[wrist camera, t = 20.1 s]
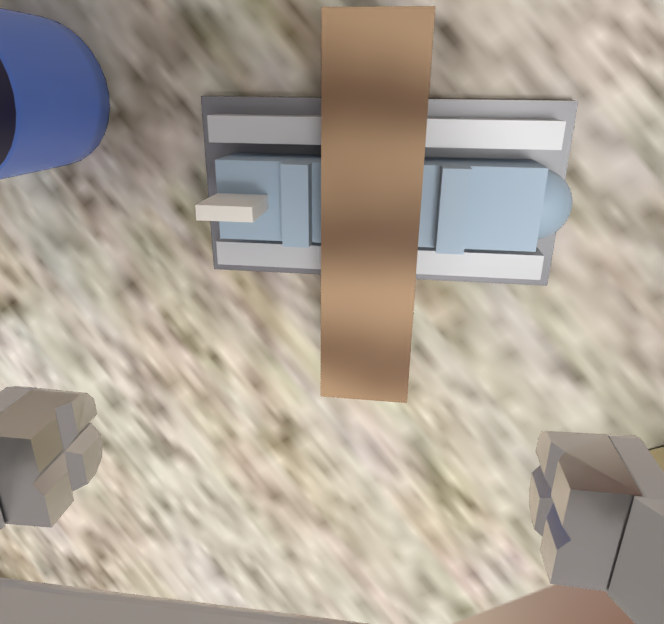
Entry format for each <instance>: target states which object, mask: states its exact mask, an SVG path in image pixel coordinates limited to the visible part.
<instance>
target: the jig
mask: <svg viewBox="0 0 664 624" xmlns="http://www.w3.org/2000/svg"><path fill="white" fill-rule="evenodd" d="M201 102H202V115H203V128H204V141H205V155H206V168H207V181H208V194H209V197H211V196H213V195H215V194H217V184H216V169H215V160H216V159H219V158H221V157H224V156H227V155H230V154H233V153H236V152H237V153H280V154H321V98H317V97H233V96H201ZM577 106H578V101H570V100H485V99H429V101H428V115H427V129H426V143H425V156H424V157H449V158H492V159H533V160H534V161H536V162H538V163H540V164H542V165H544V166H545V167H547V168H549V169H548V170H551V171H553V172H555V173H557V174H558V175H560V176H561V177H562V178H563V179H564V180H565V177H566V171H567V165H568V159H569V153H570V147H571V141H572V135H573V129H574V124H575V118H576V112H577ZM211 234H212V247H213V260H214V269H225V270H245V271H265V272H285V273H305V274H321V243H316V242H312V244H311V245H310V247H309V248H301V247H282V241H269V240H246V239H222V238H220V226H219V221H211ZM555 236H556V232H555V233H553V234H552V235H550V236H547V237H545V238H541V239H538V240H537V247H536V252H527V251H503V250H480V249H464V255H461V254H438V253H436V252H435V248H433V247H418V254H417V268H416V279H424V280H444V281H464V282H484V283H504V284H524V285H544V286H547V284H548V278H549V272H550V266H551V260H552V254H553V248H554V242H555Z"/></svg>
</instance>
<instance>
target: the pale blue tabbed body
mask: <svg viewBox="0 0 664 624" xmlns="http://www.w3.org/2000/svg"><path fill="white" fill-rule="evenodd" d="M215 169H216V184H217V194H215V195H213V196H211V197H209V198H207V199H205V200H203V201H202V202H200V203H198V204H196V205H195V209H196V220H200V221H219V226H220V238H222V239H246V240H269V241H282V247H301V248H309V247H310V245H311V244H312V242H316V243H321V154H280V153H237V152H236V153H233V154H230V155H227V156H224V157H221V158H219V159H216V160H215ZM548 169H549V168H547V167H545V166H544V165H542V164H540V163H538V162H536V161H534V160H533V159H492V158H449V157H424V170H423V184H422V198H421V212H420V226H419V240H418V247H433V248H435V252H436V253H438V254H461V255H464V249H480V250H503V251H527V252H536V247H537V240H538V239H541V238H545V237H547V236H550V235H552V234H553V233H555V232H556V231H558V230H559V229H560V228H561V227H562V226H563V225H564V224H565V222H566V221H567V219H568V217H569V215H570V212H571V209H572V194H571V191H570V188H569V186H568V184H567V183H566V181H565V180H564V179H563V178H562V177H561V176H560V175H558V174H557V173H555V172H553V171H551V170H548Z"/></svg>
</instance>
